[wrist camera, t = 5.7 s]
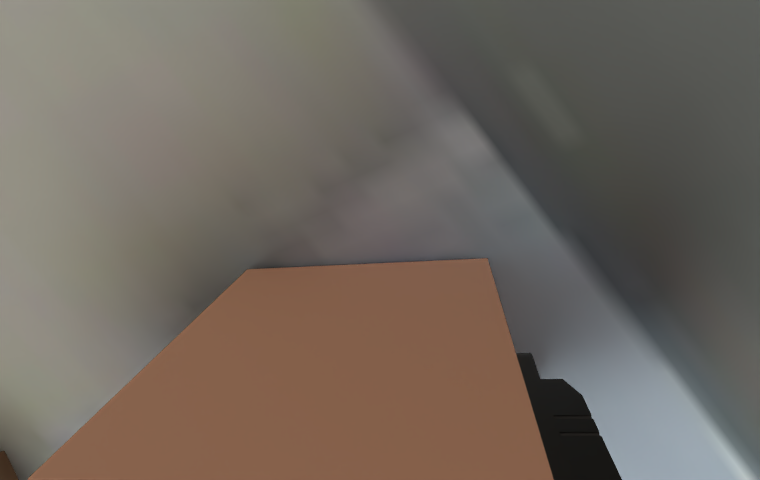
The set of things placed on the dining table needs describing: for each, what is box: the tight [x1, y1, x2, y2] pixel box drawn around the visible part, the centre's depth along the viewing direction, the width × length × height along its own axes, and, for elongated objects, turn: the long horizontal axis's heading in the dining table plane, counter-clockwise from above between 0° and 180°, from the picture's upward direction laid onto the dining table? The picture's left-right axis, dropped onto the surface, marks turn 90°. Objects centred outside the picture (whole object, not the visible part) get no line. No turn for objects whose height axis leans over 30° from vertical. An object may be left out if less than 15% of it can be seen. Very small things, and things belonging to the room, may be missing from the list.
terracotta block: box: [28, 258, 554, 480], centre depth 8 cm, size 5×5×6 cm
